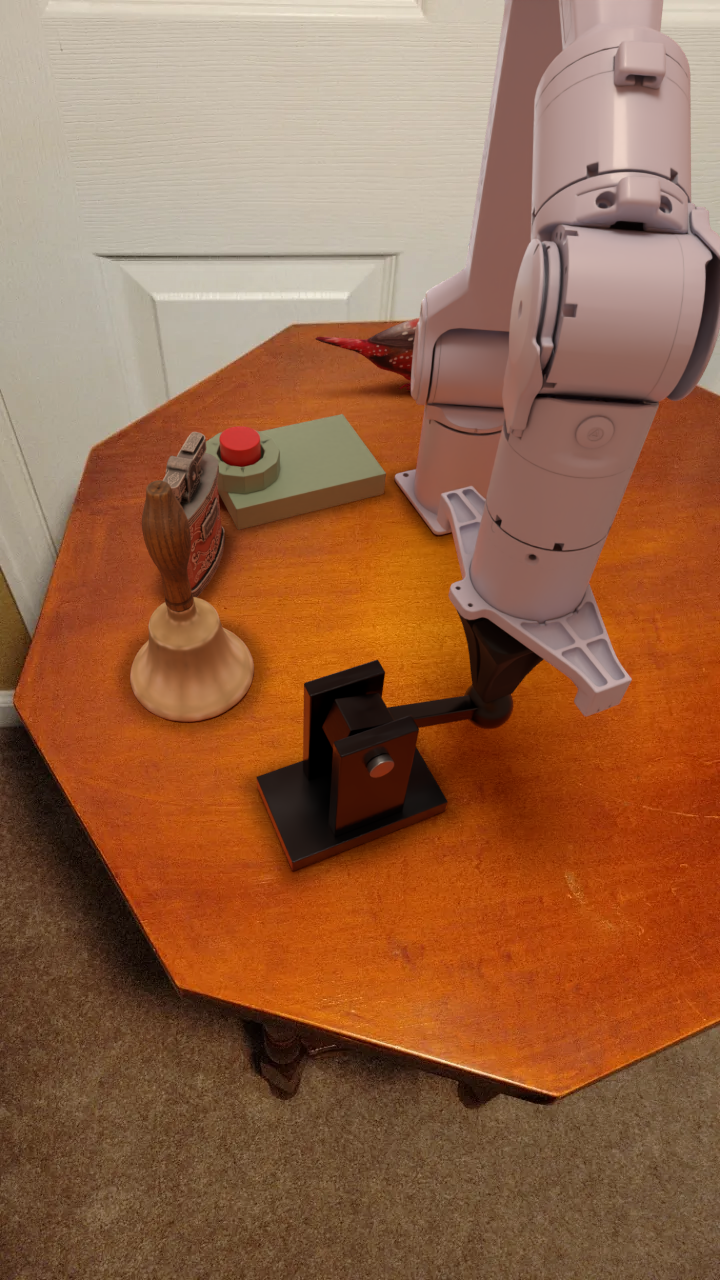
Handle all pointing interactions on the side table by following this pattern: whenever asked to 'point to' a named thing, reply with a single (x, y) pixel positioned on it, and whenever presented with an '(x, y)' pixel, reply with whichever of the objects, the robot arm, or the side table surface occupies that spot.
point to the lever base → (348, 777)
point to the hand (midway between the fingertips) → (492, 689)
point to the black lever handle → (413, 713)
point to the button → (240, 446)
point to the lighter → (198, 507)
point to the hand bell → (184, 629)
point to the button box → (299, 472)
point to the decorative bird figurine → (385, 348)
